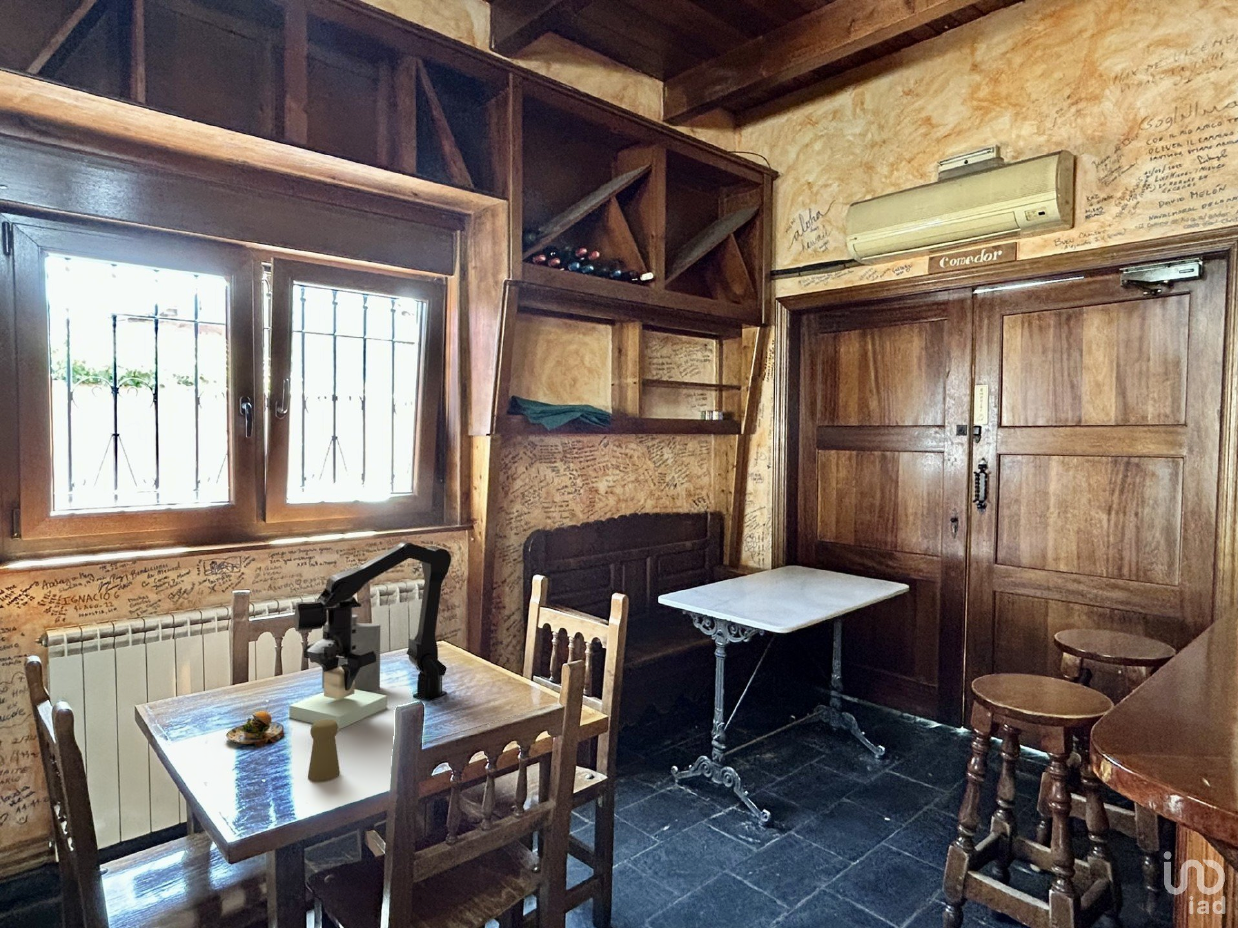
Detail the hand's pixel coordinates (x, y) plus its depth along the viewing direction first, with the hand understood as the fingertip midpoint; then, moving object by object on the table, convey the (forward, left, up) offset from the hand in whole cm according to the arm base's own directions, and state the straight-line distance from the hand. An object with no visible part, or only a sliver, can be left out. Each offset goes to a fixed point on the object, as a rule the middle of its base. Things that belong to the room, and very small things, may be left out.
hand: (339, 688), depth 183 cm
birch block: (0, 0, -2) cm, 2 cm away
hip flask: (-15, -11, -6) cm, 20 cm away
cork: (+27, +23, -6) cm, 36 cm away
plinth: (0, 0, -6) cm, 6 cm away
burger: (+20, -5, -6) cm, 22 cm away
